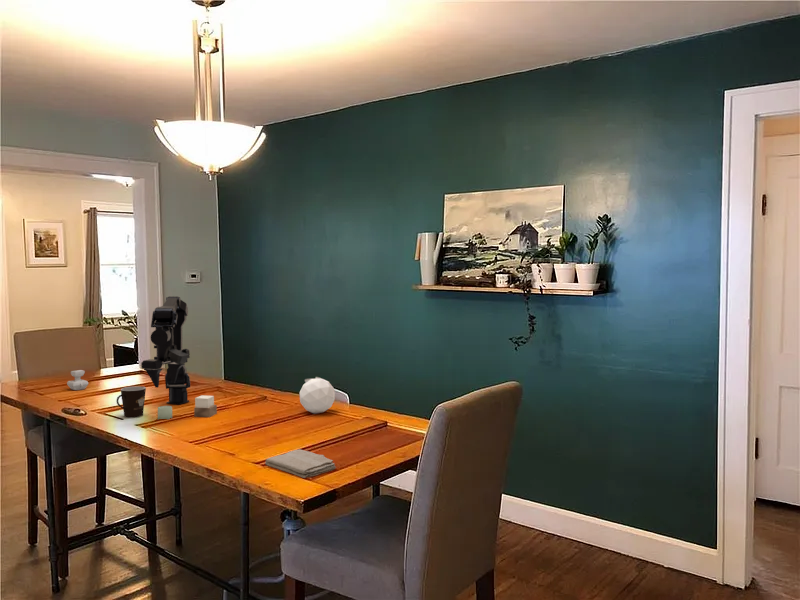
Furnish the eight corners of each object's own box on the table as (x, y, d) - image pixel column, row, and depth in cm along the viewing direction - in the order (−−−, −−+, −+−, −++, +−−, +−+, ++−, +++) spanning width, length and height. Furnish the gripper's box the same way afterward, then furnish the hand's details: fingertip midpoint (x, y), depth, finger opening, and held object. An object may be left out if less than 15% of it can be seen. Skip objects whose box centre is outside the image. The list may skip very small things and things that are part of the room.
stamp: (65, 389, 282) (65, 370, 282) (80, 387, 288) (80, 368, 287) (74, 391, 277) (74, 372, 276) (90, 389, 282) (89, 370, 281)
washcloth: (306, 480, 166) (306, 469, 166) (263, 466, 177) (263, 455, 177) (338, 469, 175) (338, 458, 175) (295, 457, 186) (295, 446, 186)
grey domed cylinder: (154, 419, 229) (154, 408, 229) (163, 416, 234) (163, 405, 234) (166, 420, 228) (166, 409, 227) (175, 417, 232) (175, 406, 232)
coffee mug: (140, 411, 240) (140, 385, 240) (150, 415, 234) (149, 388, 234) (108, 416, 232) (108, 389, 232) (117, 420, 226) (117, 393, 225)
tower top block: (195, 407, 233) (195, 398, 233) (201, 404, 238) (201, 395, 238) (208, 408, 233) (208, 398, 233) (214, 405, 238) (213, 395, 238)
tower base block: (194, 417, 233) (194, 407, 233) (201, 413, 239) (201, 404, 239) (209, 417, 232) (209, 408, 232) (216, 414, 238) (216, 404, 238)
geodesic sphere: (289, 401, 233) (312, 372, 233) (289, 394, 246) (311, 366, 247) (320, 424, 235) (343, 394, 236) (319, 415, 249) (340, 387, 249)
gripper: (166, 346, 218) (167, 391, 219) (199, 340, 236) (199, 382, 237) (139, 344, 221) (140, 389, 222) (174, 339, 239) (174, 380, 240)
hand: (165, 385), depth 230 cm, fingers open, 9 cm apart
